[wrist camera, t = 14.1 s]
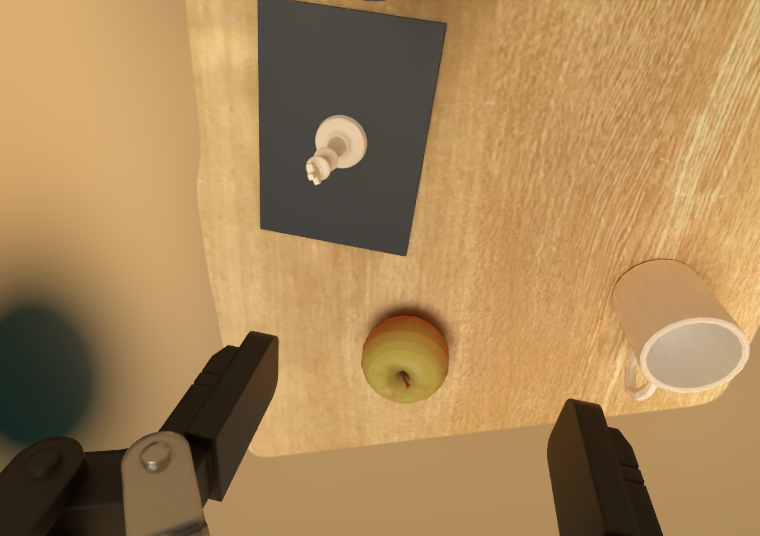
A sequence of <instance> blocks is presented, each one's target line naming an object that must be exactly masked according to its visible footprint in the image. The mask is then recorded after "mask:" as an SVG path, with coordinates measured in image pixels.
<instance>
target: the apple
mask: <svg viewBox="0 0 760 536" xmlns="http://www.w3.org/2000/svg"><path fill="white" fill-rule="evenodd" d="M448 362H449V353H448V347H447V345H446V342H445V340H444V338H443V336H442V335H441V333H440V332H439V331H438V330H437V329H436V328H435V327H434V326H432V325H431V324H430V323H429V322H427V321H425V320H423V319H420V318H418V317H414V316H405V315H401V316H397V317H392V318H389V319H387V320H386V321H384V322H382V323H381V324H379V325H378V326H376V327H375V328H373V330H372V331H371V333H370V334H369V336H368V337H367V338H366V341H365V343H364V346H363V353H362V360H361V366H362V369H363V372H364V375H365V378H366V380H367V382H368V383H369V385H370V386H371V387H372V388H373V389H374V390H375V392H377V393H378V394H379V395H381V396H383V397H384V398H386V399H388V400H390V401H394V402H398V403H414V402H417V401H421V400H424V399H426V398H428V397H429V396H431V395H432V394H433V393H435V392H436V391H437V390H438V389H439V388H440V387H441V385H442V384H443V382H444V380H445V378H446V376H447V374H448Z"/></svg>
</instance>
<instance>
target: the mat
mask: <svg viewBox="0 0 760 536" xmlns="http://www.w3.org/2000/svg"><path fill="white" fill-rule="evenodd" d="M446 25H447V24H446V23H440V22H433V21H426V20H420V19H413V18H406V17H400V16H393V15H386V14H380V13H373V12H366V11H360V10H353V9H346V8H340V7H333V6H326V5H320V4H313V3H306V2H300V1H293V0H258V70H259V151H260V229H264V230H269V231H275V232H280V233H285V234H290V235H296V236H301V237H306V238H311V239H317V240H322V241H327V242H332V243H338V244H343V245H348V246H353V247H359V248H364V249H369V250H374V251H379V252H385V253H390V254H395V255H400V256H406V254H407V248H408V242H409V236H410V231H411V225H412V219H413V214H414V208H415V202H416V196H417V191H418V185H419V179H420V174H421V168H422V162H423V156H424V151H425V145H426V139H427V134H428V128H429V122H430V117H431V111H432V105H433V99H434V94H435V88H436V82H437V77H438V71H439V65H440V59H441V54H442V48H443V42H444V37H445V31H446ZM334 115H345V116H348V117H351V118H353V119H354V120H356V121H357V122H358V123H359V124H360V125H361V127H362V128H363V130H364V132H365V134H366V137H367V149H366V152H365V155H364V156H363V158H362V159H361V160H360V161H359V162H358V163H357V164H355V165H353V166H351V167H348V168H335V169H334V170H333V171H330V174H329V176H328V177H327V178H326V179H324V180H321V183H320V184H317V185H315V184H314V182H313V180H310V181H309V178H308V176H307V175H308V173H307V170H306V164H307V161H308V160H309V159H310V158H311V157H313V156H314V154H315V152H316V151H317V148H316V143H315V138H316V133H317V130H318V128H319V126H320V125H321V123H322V122H323V121H324V120H326V119H327V118H329V117H331V116H334Z"/></svg>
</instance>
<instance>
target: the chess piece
mask: <svg viewBox="0 0 760 536" xmlns="http://www.w3.org/2000/svg"><path fill="white" fill-rule="evenodd" d="M315 143H316V148H317V151H316V152H315V154H314V156H313V157H311V158H310V159H309V160H308V161H307V164H306V170H307V173H308V175H307V176H308V178H309V181H310V180H313V182H314V184H315V185H317V184H320V183H321V180H324V179H326V178H327V177H328V176H329V174H330V171H333V170H334V169H335V168H348V167H351V166H353V165H355V164H357V163H358V162H359V161H360V160H361V159H362V158H363V156H364V155H365V152H366V149H367V137H366V134H365V132H364V130H363V128H362V127H361V125H360V124H359V123H358V122H357V121H356V120H354V119H353V118H351V117H348V116H345V115H334V116H331V117H329V118H327V119H326V120H324V121H323V122H322V123H321V125H320V126H319V128H318V130H317V133H316V138H315Z"/></svg>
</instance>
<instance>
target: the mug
mask: <svg viewBox="0 0 760 536" xmlns="http://www.w3.org/2000/svg"><path fill="white" fill-rule="evenodd" d="M612 302H613V308H614V310H615V312H616V314H617V317H618V319H619V321H620V323H621V326H622V328H623V330H624V332H625V335H626V337H627V339H628V341H629V344H630V346H631V348H632V351H631V354H630V356H629V358H628V361H627V363H626V366H625V393H626V394H627V395H629V396H631V397H633V398H634V399H636V400H639V401H643V400H645V399H647V398H649V397H651V396H652V394H653V393H654V391H655V390H656V388H657V387H660V388H663V389H665V390H668V391H674V392H682V393H689V392H701V391H705V390H708V389H712V388H715V387H718V386H720V385H722V384H723V383H725V382H727V381H729V380H731V379H732V378H733V377H734V376H735V375H736V374H738V373H739V372H740V371H741V370H742V369H743V367H744V365H745V364H746V362H747V360H748V358H749V351H750V344H749V342H748V339H747V337H746V335H745V333H744V332H743V331H742V329H741V328H740V327H739V326H738V324H737V323H736V322H735V320H734V319H733V318H732V317H731V315H730V314H729V313H728V312H727V310H726V309H725V308H724V307H723V305H722V304H721V303H720V302H719V300H718V299H717V298H716V297H715V295H714V294H713V293H712V292H711V290H710V289H709V288H708V287H707V285H706V284H705V283H704V281H703V280H702V279H701V278H700V276H699V275H698V274H697V273H696V272H695V271H694V270H693V269H691V268H690V267H689V266H688V265H685V264H683V263H680V262H678V261H674V260H662V259H660V260H654V261H648V262H645V263H642V264H640V265H638V266H635V267H633V268H632V269H631V270H629V271H628V272H627V273H625V274H624V275H623V276H622V277H621V278H620V280H619V281H618V282H617V284H616V285H615V288H614V291H613V294H612ZM637 363H638V364H639V366H640V368H641V370H642V372H643V374H644V375H645V377H646V378H647V379H648V382H647V383H646V384H645V385H643V386H641V387H640V388H637V387H636V366H637Z"/></svg>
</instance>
